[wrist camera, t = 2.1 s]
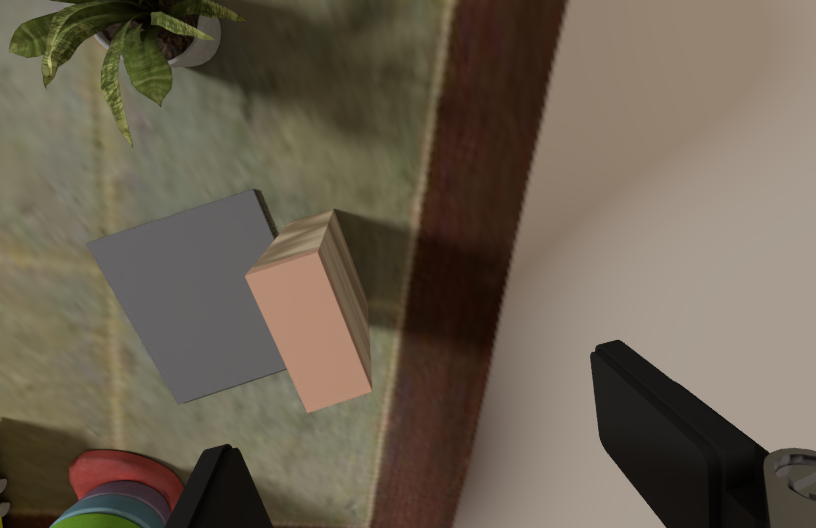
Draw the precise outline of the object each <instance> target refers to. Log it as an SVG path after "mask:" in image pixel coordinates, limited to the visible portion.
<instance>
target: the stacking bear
mask: <svg viewBox="0 0 816 528" xmlns="http://www.w3.org/2000/svg"><path fill="white" fill-rule="evenodd" d="M69 482H70V484H71V486H72V487H73V489H74V491H75V493H76V494H77V496H78V499H79V501H78V502H77V503H75V504H74V505H73V506H71V507H70V508H69V509H68V510H66V511H65V512H64V513H63V514H62V515H61V516H60V517H59V518H58V519H57V520H56V521H55V522H54V523H53V524H52V525H51V526H50V527H49V528H164V527H165V525H166V523H167V521H168V519H169V517H170V515H171V513H172V511H173V509H174V507H175V505H176V503H177V501H178V499H179V497H180V495H181V493H182V492H183V490H184V488H183V485H182V483H181V482H180V480H179V479H178V477H177V476H176V475H175V474H174V473H173V472H172V471H170V470H169V469H167V468H166V467H164V466H162V465H161V464H159V463H157V462H154V461H152V460H150V459H147V458H144V457H142V456H138V455H135V454H131V453H127V452H121V451H112V450H91V451H86V452H83V453H82V454H81V455H80V456H79V457H78V458H76V459H74V460H73V462H72V463H71V465H70V467H69Z"/></svg>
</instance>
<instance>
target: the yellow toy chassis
mask: <svg viewBox="0 0 816 528" xmlns="http://www.w3.org/2000/svg"><path fill="white" fill-rule="evenodd" d="M6 485H7V480H6V479H0V493H1V492H2V491H3V490H4V489H5V487H6ZM9 508H10V503H7V502H3V503H1V504H0V528H3V525H2V517H3V516H5V515H6V514H7V512H8V511H9Z"/></svg>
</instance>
